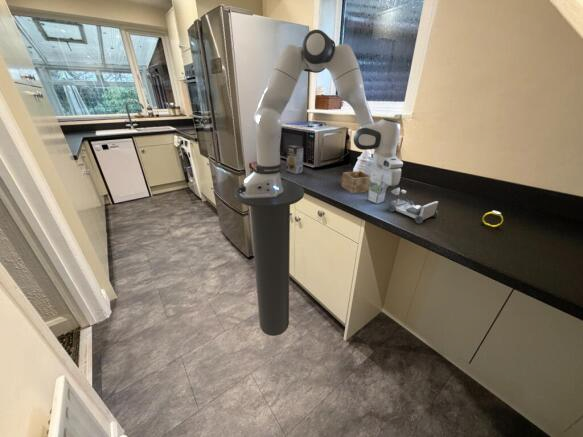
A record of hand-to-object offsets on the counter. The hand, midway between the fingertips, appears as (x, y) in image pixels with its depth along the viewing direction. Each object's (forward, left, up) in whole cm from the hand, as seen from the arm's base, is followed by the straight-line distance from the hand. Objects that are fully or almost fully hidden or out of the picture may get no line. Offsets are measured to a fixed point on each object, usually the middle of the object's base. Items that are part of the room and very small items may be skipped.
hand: (377, 188), depth 108 cm
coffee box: (-21, +56, -6) cm, 60 cm away
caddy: (0, +17, -6) cm, 18 cm away
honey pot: (+15, +32, -6) cm, 36 cm away
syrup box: (0, 0, -6) cm, 6 cm away
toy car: (+6, -15, -6) cm, 17 cm away
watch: (+28, -34, -6) cm, 44 cm away
